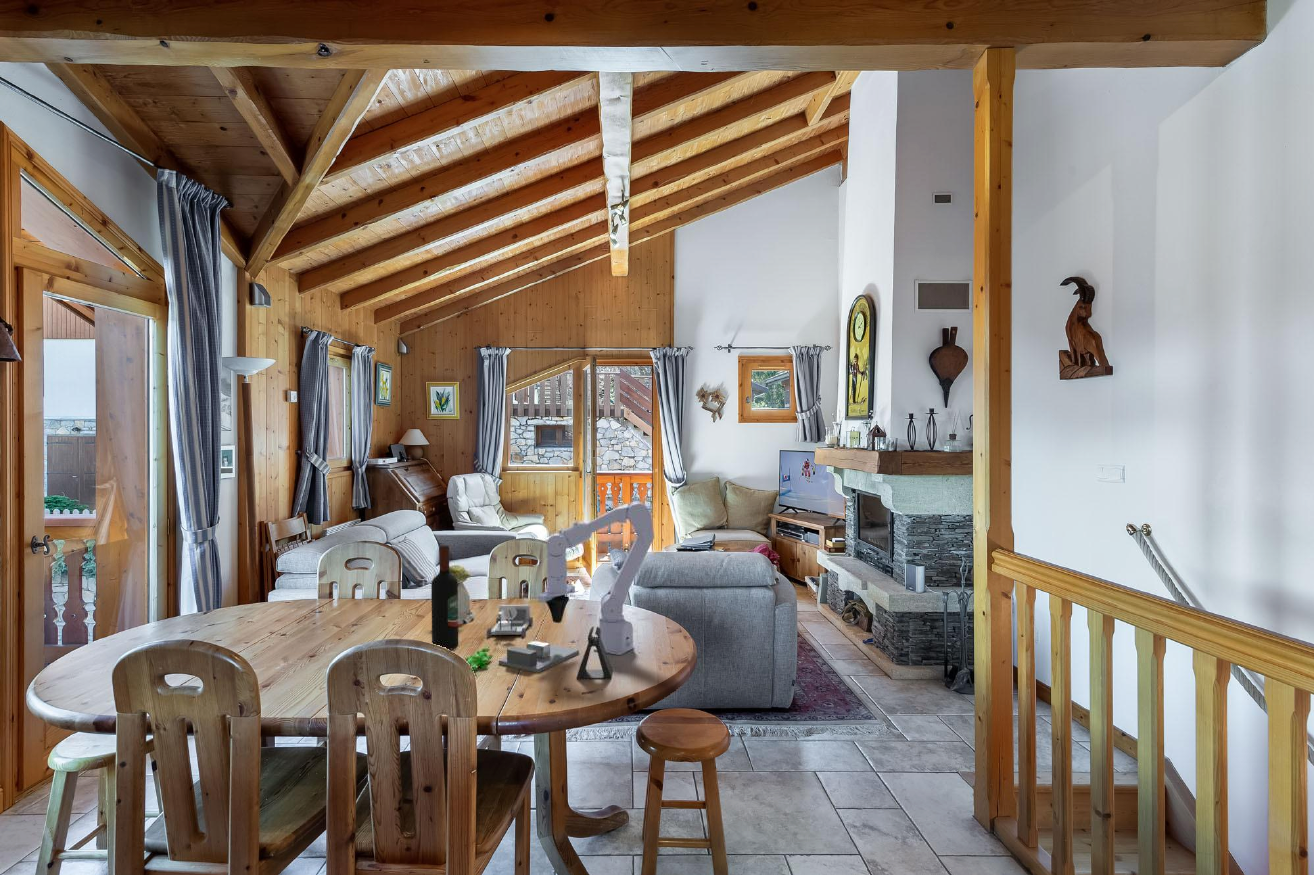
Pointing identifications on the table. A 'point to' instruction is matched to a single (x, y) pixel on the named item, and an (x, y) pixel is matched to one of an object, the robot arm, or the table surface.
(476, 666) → the crocodile figurine
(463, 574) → the yellow-capped mushroom figurine
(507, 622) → the toy car
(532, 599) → the table surface
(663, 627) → the table surface
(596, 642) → the phone stand
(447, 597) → the wine bottle
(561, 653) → the gauge base
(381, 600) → the table surface
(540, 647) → the plunger
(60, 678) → the table surface
